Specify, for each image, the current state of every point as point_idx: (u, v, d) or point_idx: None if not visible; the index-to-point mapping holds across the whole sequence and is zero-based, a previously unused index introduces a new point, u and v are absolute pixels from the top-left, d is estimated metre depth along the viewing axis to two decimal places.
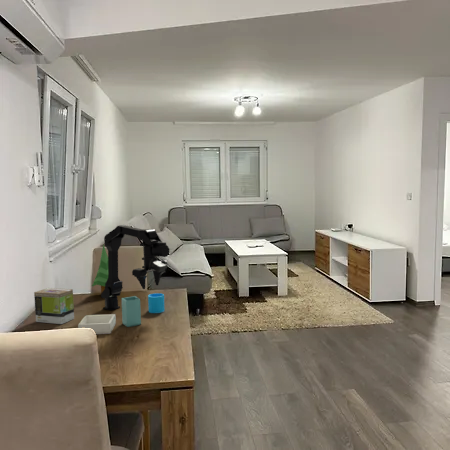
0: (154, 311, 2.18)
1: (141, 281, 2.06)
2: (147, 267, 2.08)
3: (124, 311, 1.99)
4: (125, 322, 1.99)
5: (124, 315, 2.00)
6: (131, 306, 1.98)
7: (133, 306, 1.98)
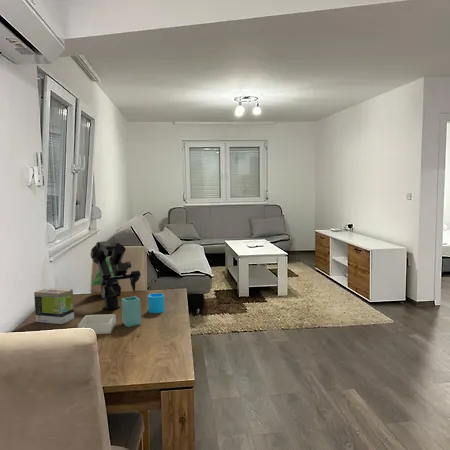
0: (154, 311, 2.18)
1: (111, 287, 2.07)
2: (114, 274, 2.11)
3: (124, 311, 1.99)
4: (125, 322, 1.99)
5: (124, 315, 2.00)
6: (131, 306, 1.98)
7: (133, 306, 1.98)
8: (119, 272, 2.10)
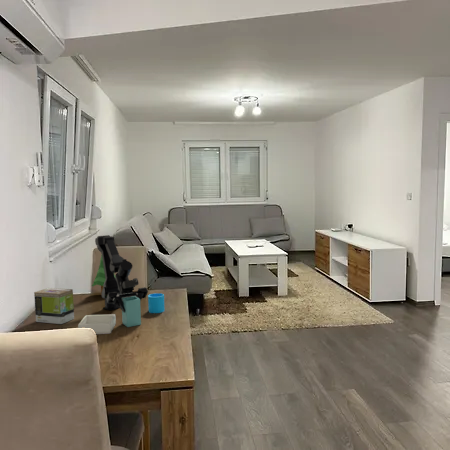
0: (154, 311, 2.18)
1: (120, 305, 2.00)
2: (121, 291, 2.04)
3: None
4: (125, 322, 1.99)
5: (124, 315, 2.00)
6: (131, 306, 1.98)
7: (133, 306, 1.98)
8: (126, 289, 2.03)
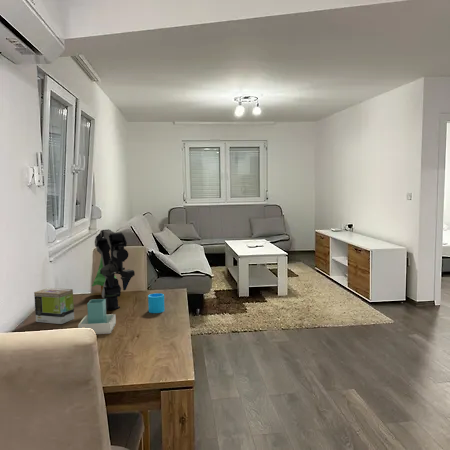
0: (154, 311, 2.18)
1: None
2: None
3: None
4: None
5: None
6: (93, 309, 1.91)
7: (94, 309, 1.91)
8: None
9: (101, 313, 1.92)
